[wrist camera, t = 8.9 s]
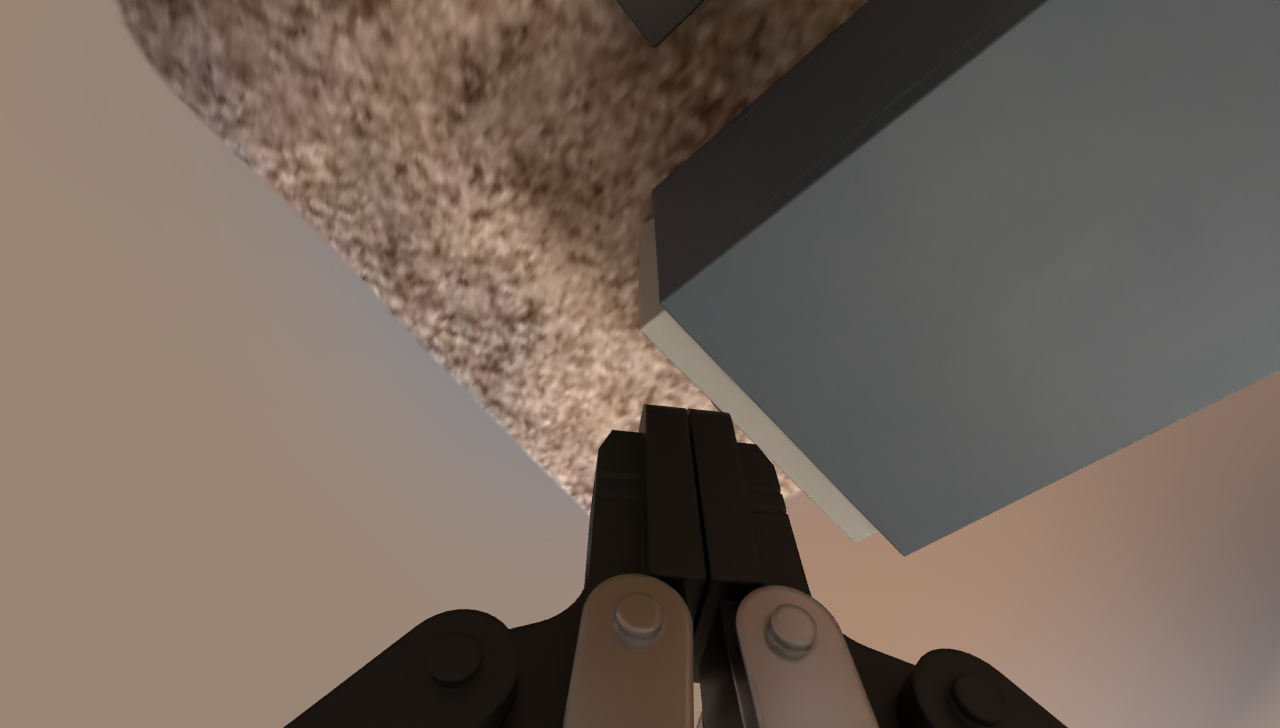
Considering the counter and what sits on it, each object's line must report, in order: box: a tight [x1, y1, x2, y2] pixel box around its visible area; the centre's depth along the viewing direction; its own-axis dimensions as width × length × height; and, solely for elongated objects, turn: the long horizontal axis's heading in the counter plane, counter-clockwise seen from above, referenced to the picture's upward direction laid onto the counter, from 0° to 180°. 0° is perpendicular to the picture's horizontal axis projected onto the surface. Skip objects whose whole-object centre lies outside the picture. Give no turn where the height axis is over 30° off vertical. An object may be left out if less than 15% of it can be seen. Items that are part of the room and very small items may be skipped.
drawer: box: [639, 218, 879, 542], centre depth 20 cm, size 15×11×8 cm
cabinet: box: [652, 0, 1280, 556], centre depth 19 cm, size 15×13×10 cm
